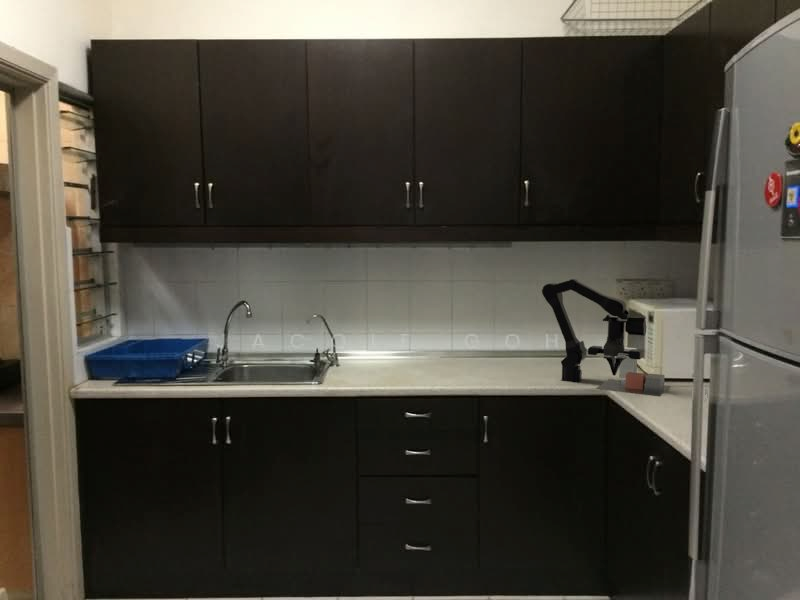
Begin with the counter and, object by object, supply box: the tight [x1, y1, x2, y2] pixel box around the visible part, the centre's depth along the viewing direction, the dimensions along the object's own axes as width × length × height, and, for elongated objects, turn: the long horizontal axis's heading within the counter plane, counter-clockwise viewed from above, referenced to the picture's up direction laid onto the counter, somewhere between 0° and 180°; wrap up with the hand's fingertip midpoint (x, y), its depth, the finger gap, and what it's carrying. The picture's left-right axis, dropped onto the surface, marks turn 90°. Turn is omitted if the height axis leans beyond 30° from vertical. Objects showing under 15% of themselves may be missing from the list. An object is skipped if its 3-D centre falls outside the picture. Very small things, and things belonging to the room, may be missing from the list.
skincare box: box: [618, 346, 638, 379], centre depth 253 cm, size 6×4×12 cm
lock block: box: [625, 372, 647, 390], centre depth 233 cm, size 6×5×5 cm
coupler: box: [595, 372, 671, 397], centre depth 234 cm, size 22×20×6 cm
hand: (614, 375), depth 238 cm, fingers closed
